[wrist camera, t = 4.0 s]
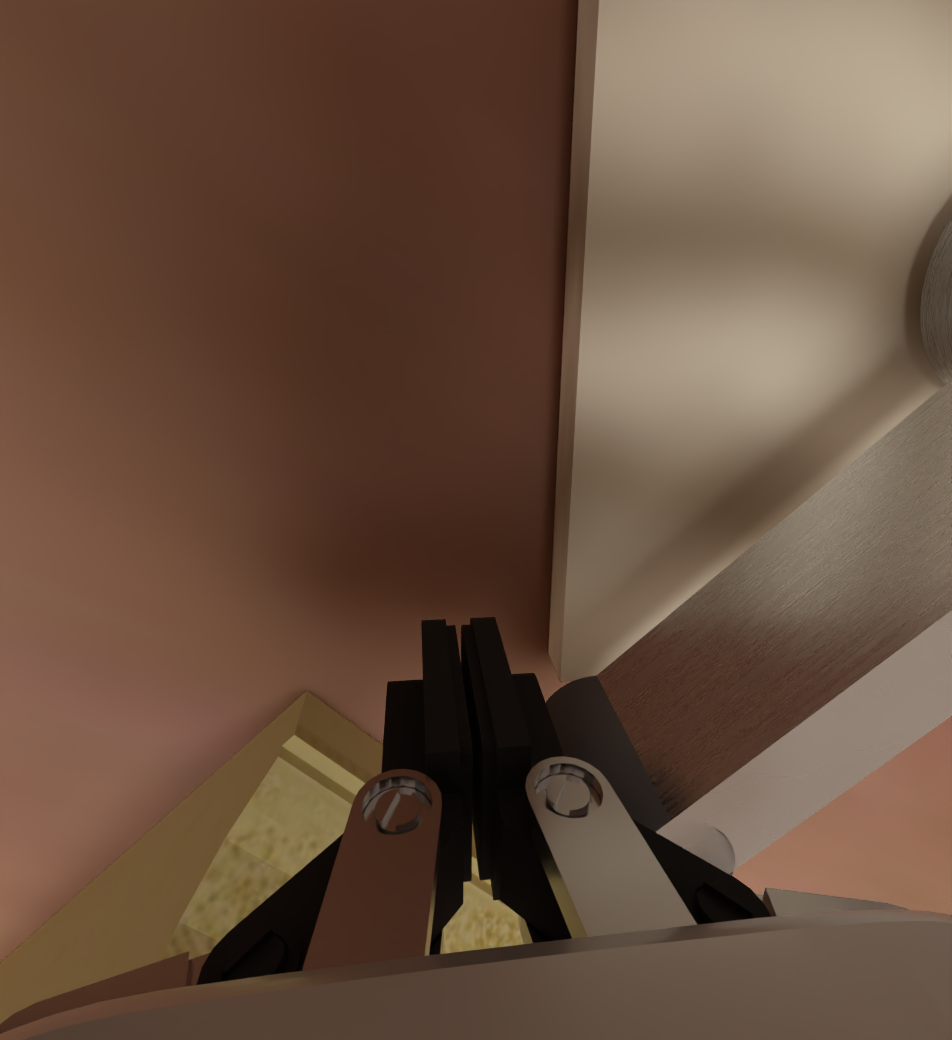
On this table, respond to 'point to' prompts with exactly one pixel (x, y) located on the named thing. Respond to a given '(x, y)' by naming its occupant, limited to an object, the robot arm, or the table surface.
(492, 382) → the table surface
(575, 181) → the dial base
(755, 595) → the capstan lever
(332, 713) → the decorative clock
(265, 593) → the table surface
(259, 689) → the table surface
